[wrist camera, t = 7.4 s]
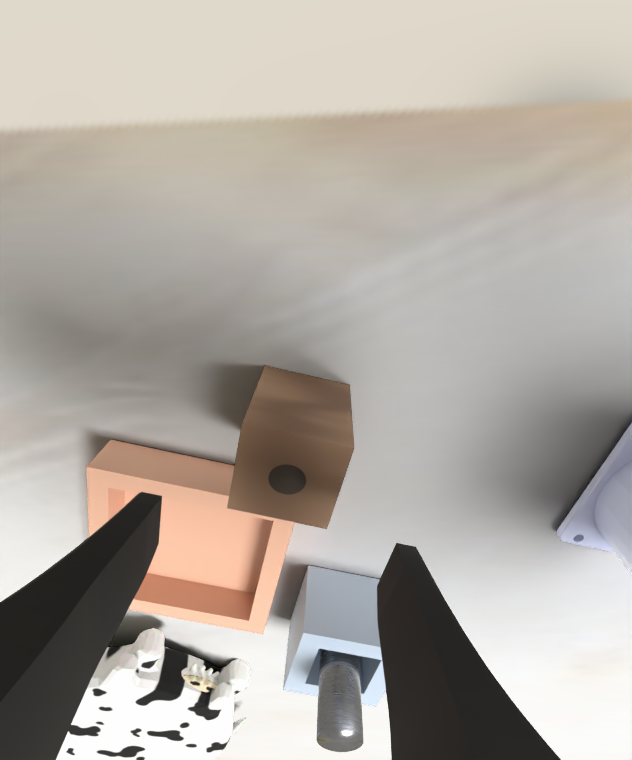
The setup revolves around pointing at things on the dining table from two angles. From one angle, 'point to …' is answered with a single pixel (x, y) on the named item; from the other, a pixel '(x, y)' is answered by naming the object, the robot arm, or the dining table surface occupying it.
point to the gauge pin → (339, 702)
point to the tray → (193, 537)
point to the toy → (155, 705)
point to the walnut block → (293, 448)
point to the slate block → (335, 631)
